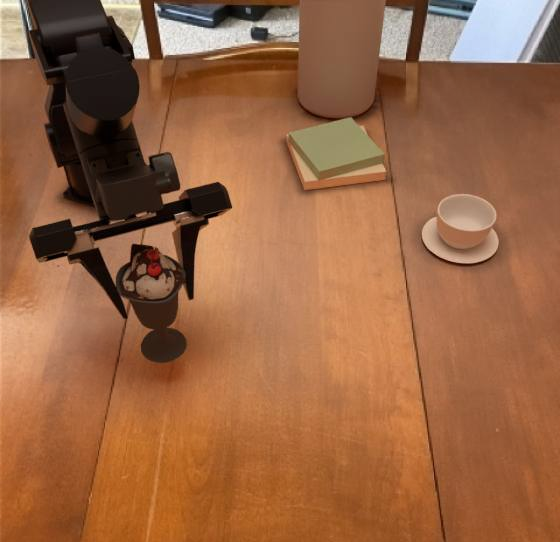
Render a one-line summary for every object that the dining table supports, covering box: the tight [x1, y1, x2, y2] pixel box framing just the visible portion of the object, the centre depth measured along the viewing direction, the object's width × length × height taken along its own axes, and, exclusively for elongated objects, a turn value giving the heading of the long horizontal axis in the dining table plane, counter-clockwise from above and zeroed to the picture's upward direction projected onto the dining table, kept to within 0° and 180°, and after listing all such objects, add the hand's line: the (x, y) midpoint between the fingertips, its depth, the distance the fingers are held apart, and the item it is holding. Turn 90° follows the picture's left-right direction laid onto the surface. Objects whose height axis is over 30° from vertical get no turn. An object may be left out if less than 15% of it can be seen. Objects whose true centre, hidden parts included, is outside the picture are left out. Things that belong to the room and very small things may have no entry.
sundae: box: [115, 243, 188, 364], centre depth 67 cm, size 7×7×15 cm
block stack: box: [286, 117, 387, 191], centre depth 99 cm, size 12×12×3 cm
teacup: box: [421, 193, 499, 264], centre depth 88 cm, size 10×10×5 cm
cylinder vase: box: [297, 0, 387, 119], centre depth 101 cm, size 12×12×25 cm
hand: (158, 309), depth 66 cm, fingers closed on sundae, 6 cm apart
